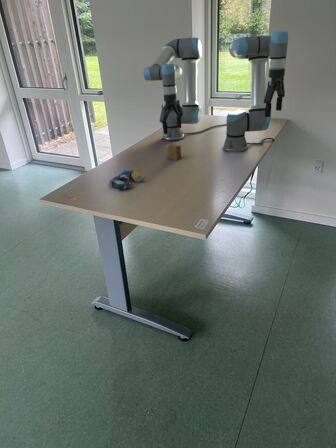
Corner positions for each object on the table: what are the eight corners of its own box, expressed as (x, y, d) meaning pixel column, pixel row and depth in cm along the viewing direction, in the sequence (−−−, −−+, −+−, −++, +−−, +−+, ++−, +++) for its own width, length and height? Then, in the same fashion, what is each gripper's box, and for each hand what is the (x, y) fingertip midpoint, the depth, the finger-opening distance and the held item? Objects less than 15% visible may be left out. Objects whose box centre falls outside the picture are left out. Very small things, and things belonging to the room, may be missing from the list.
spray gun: (148, 176, 189) (126, 173, 196) (147, 169, 187) (125, 167, 194) (129, 192, 174) (105, 189, 180) (127, 185, 172) (104, 182, 178)
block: (172, 156, 216) (172, 143, 211) (181, 157, 212) (180, 145, 208) (168, 158, 212) (167, 146, 208) (176, 160, 209) (175, 147, 204)
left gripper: (177, 89, 202) (179, 124, 213) (151, 97, 186) (154, 135, 197) (187, 89, 198) (189, 125, 209) (161, 98, 182) (164, 136, 193)
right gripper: (279, 64, 171) (276, 107, 182) (258, 72, 154) (255, 118, 165) (294, 64, 166) (289, 108, 177) (273, 72, 150) (270, 120, 161)
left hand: (172, 130), depth 203 cm, fingers open, 13 cm apart
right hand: (273, 113), depth 171 cm, fingers open, 13 cm apart
